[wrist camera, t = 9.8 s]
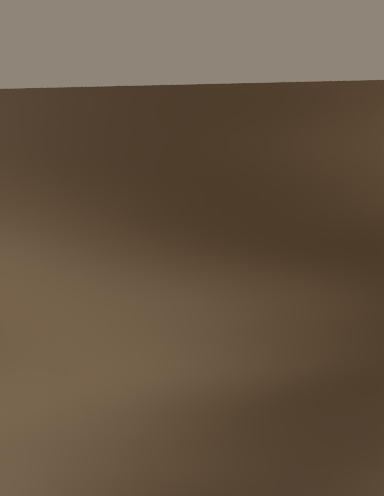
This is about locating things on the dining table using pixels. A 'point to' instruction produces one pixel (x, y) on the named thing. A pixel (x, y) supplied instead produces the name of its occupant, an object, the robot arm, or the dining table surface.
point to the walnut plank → (192, 290)
